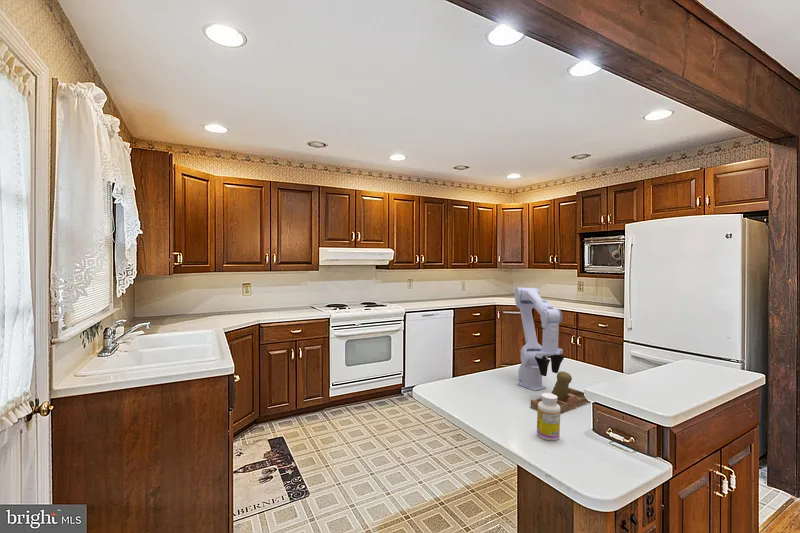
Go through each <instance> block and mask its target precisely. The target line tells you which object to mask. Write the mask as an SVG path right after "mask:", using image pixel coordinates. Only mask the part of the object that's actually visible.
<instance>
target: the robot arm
mask: <svg viewBox="0 0 800 533" xmlns="http://www.w3.org/2000/svg"><path fill="white" fill-rule="evenodd" d="M514 301H515V306H516V307H517V308H518V309H519V311H520V312H519V313H520V318H521V322H522V327H523V328H522V329H523V333H524V336H523V337H524V340H525V344H524V345H523V346H522V347H521V349H520V361H521V362H520V363H521V364H520V365H519V368H518V376H517V383H516V385H518V386H520V387H524V388H527V389H529V390H531V391H539V390H543V389H546V388H547V386H546V385H544V384H543V377H547V374H548V368H549V365H550V364H551V366H550V368H551V372H552V373H553V374H558V372H560V371H559V370H560V367H561V365H562V362H563V360H564V359H565V355H564V354H563V352H564V351H563V348H560V347H559V331H560V330H559V328H560V326H559V325H560V324H561V323H562V320H563V313H562V311H561V310H560V308H554V307H553V306H552V305H551V304H550V303H549V301H548V300H547V299H542V297H541V292H540V289H539V287H520V286H518V287H516V288H515V290H514ZM532 309H535V311H536V312H537V313H538V315H540V317H539V318H540V322H541V328H542V344H540V343H539V341H538V337H537V332H536V328H535V323H534V317H533V310H532ZM548 357H549V358H548Z"/></svg>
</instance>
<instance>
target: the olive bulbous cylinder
mask: <svg viewBox="0 0 800 533" xmlns="http://www.w3.org/2000/svg"><path fill="white" fill-rule="evenodd" d="M572 380H573V377H572V375H571V374H570V373H568V372H566V371H558V373H556V381H555V384H554V387H553V389H552V391H551V392H550V393H551V394H554V395H556V396H557V400H559V401H562V402H565V403H567V395H568V388H570V386H569V384H571V382H572Z"/></svg>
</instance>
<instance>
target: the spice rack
mask: <svg viewBox="0 0 800 533" xmlns="http://www.w3.org/2000/svg"><path fill="white" fill-rule="evenodd" d="M584 393H585V392H584V391H581V390H578V389H575V388H571V387H568V395H567V403H565V402H562V401H559V400H557V404H558V405H559V406H560V409H561V410H560V415H561V414H564V413H566V412H569V411H572V410H575V409H576V407H577V408H580V407H582V406H584V404H585V405H587V404H586V403H588V404H590V403H591V402H590V401H588V400H587V399H586V398H585V396H584ZM541 401H542V399H541V397H539V398H536V399H530V408H531V409H532V410H535V411H536V412H538V403H539V402H541ZM579 406H580V407H579ZM571 409H572V410H571Z"/></svg>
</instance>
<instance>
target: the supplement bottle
mask: <svg viewBox="0 0 800 533" xmlns="http://www.w3.org/2000/svg"><path fill="white" fill-rule="evenodd" d="M551 393H552V392H543V393H541V396H540V398H541V399H542V401H541V402H539V403H538V411H536V412H537V413H536V414H537V417H536V434H537V436H538V437H539V438H541V439H543V440H545V441H556V440H559V438H560V436H561V435H560V431H561V430H560V429H561V426H560V425H561V414H560V410H561V409H560V406H559V405H558V404H557V396H556V395H554V394H551Z"/></svg>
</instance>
